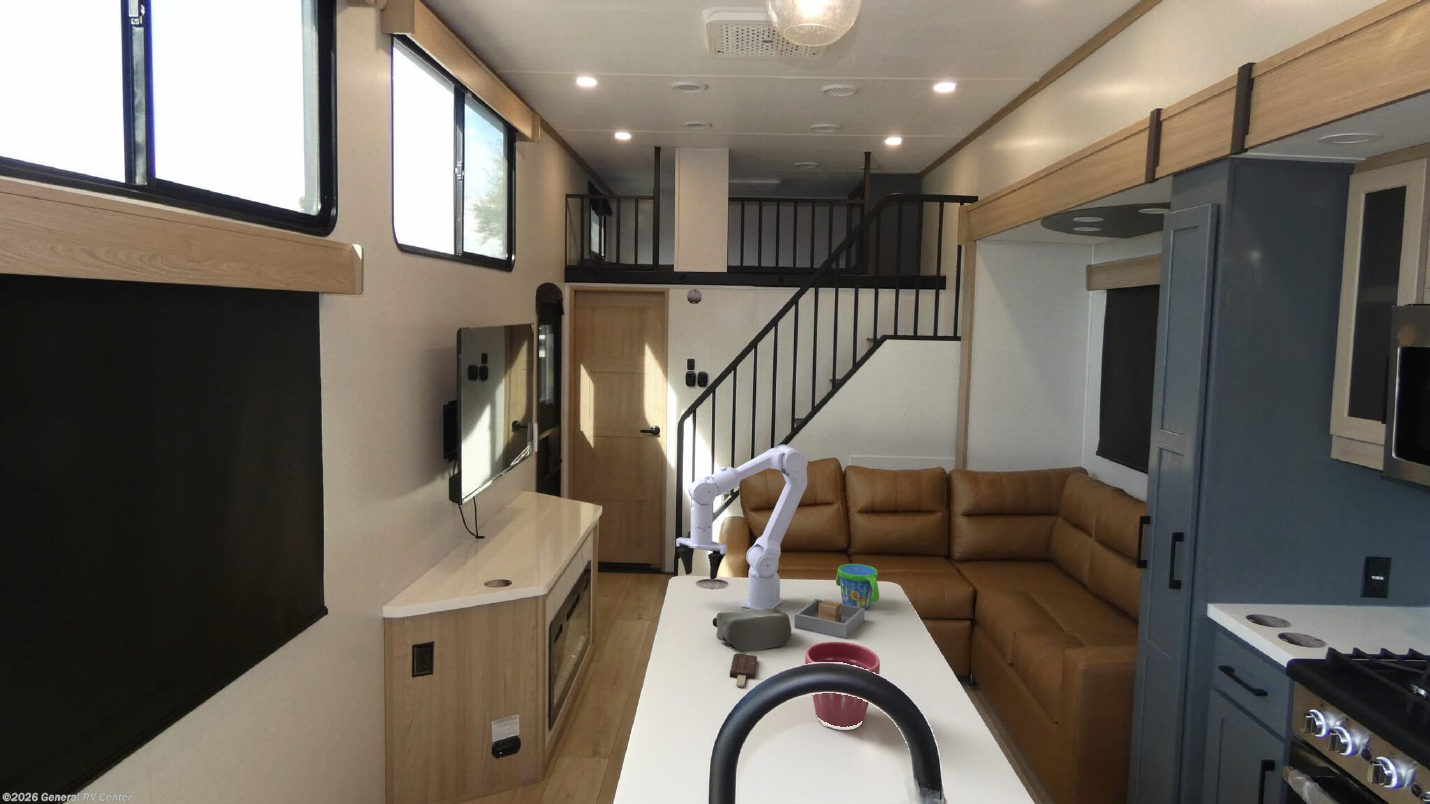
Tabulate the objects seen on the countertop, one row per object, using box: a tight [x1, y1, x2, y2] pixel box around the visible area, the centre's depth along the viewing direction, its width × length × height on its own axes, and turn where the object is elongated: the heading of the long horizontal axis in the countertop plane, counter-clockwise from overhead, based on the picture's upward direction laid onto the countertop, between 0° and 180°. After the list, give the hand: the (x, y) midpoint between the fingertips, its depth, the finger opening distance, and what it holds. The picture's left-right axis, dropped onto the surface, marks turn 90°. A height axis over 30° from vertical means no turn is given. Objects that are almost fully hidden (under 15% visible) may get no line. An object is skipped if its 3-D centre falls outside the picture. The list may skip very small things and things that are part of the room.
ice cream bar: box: [729, 652, 758, 688], centre depth 173 cm, size 5×2×15 cm
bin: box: [794, 598, 866, 640], centre depth 201 cm, size 14×14×4 cm
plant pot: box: [804, 641, 881, 727], centre depth 152 cm, size 14×14×13 cm
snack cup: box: [835, 563, 880, 610], centre depth 215 cm, size 16×10×10 cm
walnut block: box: [818, 599, 843, 622], centre depth 201 cm, size 4×4×5 cm
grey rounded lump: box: [712, 608, 792, 653], centre depth 190 cm, size 18×11×8 cm, turn 108°
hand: (700, 576), depth 209 cm, fingers open, 7 cm apart
